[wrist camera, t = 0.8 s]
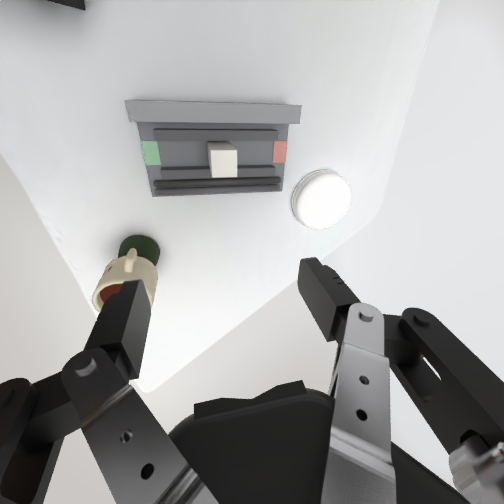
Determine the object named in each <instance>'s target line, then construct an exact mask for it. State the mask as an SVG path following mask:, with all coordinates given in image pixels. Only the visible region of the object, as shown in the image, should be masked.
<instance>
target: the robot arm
mask: <svg viewBox="0 0 504 504" xmlns="http://www.w3.org/2000/svg"><path fill="white" fill-rule="evenodd" d="M298 289H299V292H300V294H301V296H302V297H303V299H304V301H305V303H306V305H307V306H308V308H309V310H310V312H311V313H312V315H313V317H314V319H315V321H316V322H317V324H318V326H319V328H320V330H321V331H322V333H323V335H324V337H325V339H326V340H327V342H330V341H334V340H336V341H337V343H338V348H337V352H336V357H335V363H334V367H333V373H332V378H331V383H330V387H329V391H328V395H327V394H325V393H323V392H320V391H317V390H313V389H309V388H305V386H304V383H303V381H302V380H300V381H295V382H291V383H286V384H282V385H277V386H275V387H274V388H272V389H270V390H268V391H266V392H265V393H263V394H261V395H259V396H257V397H255V398H253V399H236V398H219V399H214V400H210V401H205V402H201V403H196V404H194V414H192V415H190V416H188V417H187V418H185V419H184V420H182V421H181V422H180V423H179V424H178V425H177V426H175V428H174V429H173V430H172V431H171V432H170V433H169V434H168V435H167V434H166V432H165V431H164V430H163V428H162V427H161V425H160V424H159V423H158V421H157V420H156V419H155V417H154V416H153V414H152V413H151V412H150V410H149V409H148V407H147V406H146V405H145V403H144V402H143V400H142V399H141V398H140V396H139V395H138V394H137V392H136V391H135V389H134V388H133V387H132V386H131V385H129V384H128V383H129V380H132V379H137V378H139V373H140V368H141V363H142V358H143V353H144V347H145V342H146V337H147V332H148V327H149V321H150V316H151V305H150V301H149V298H148V295H147V292H146V289H145V286H144V283H143V280H142V279H137V280H130V281H124V282H123V284H122V286H121V289H120V292H119V293H113V294H112V295H111V296H110V297H109V298H108V299H107V300H106V301H105V302H104V304H103V306H102V309H101V311H100V313H99V315H98V318H97V321H96V322H95V325H94V327H93V329H92V332H91V334H90V336H89V338H88V341H87V343H86V345H85V348H84V350H83V351H81V352H80V353H78V354H76V355H75V356H73V357H72V358H71V359H70V360H69V361H68V362H67V363H66V364H65V366H64V367H63V369H62V371H61V372H59V373H56V374H54V375H52V376H49V377H47V378H45V379H42V380H40V381H38V382H36V383H33V384H31V383H30V382H29V381H28V380H27V379H24V378H15V379H11V380H8V381H6V382H3V383H1V384H0V504H43V502H44V498H45V495H46V492H47V489H48V486H49V483H50V480H51V477H52V474H53V471H54V468H55V465H56V461H57V458H58V455H59V452H60V449H61V445H62V443H63V440H64V437H65V436H66V435H68V434H70V433H72V432H74V431H75V430H77V429H79V428H81V430H82V432H83V434H84V436H85V438H86V440H87V443H88V444H89V447H90V449H91V451H92V453H93V455H94V457H95V459H96V461H97V464H98V466H99V468H100V470H101V472H102V474H103V476H104V478H105V480H106V483H107V484H108V487H109V489H110V491H111V493H112V495H113V497H114V499H115V501H116V504H504V382H503V381H502V380H501V379H500V378H498V377H497V376H496V375H495V374H494V373H493V372H492V371H491V370H490V369H489V368H488V367H487V366H486V365H485V364H484V363H483V362H482V361H481V360H480V359H479V358H478V357H477V356H476V355H474V353H472V352H471V351H470V350H469V349H468V348H467V347H466V346H465V345H464V344H463V343H462V342H461V341H460V340H459V339H458V338H457V337H456V336H455V335H454V334H453V333H452V332H450V330H448V328H446V327H445V326H444V325H443V324H442V323H441V322H440V321H439V320H438V319H437V318H436V317H435V316H434V315H432V314H431V313H429V312H427V311H425V310H422V309H419V308H407V309H405V310H404V311H403V313H402V316H397V315H386V314H382V313H381V312H380V311H379V310H378V309H377V308H375V307H374V306H372V305H369V304H366V303H361V302H360V300H359V299H358V298H357V297H356V296H355V294H354V293H353V292H352V291H351V290H350V288H349V287H348V286H347V285H346V284H345V283H344V281H343V280H342V279H341V278H340V276H339V275H338V274H337V273H336V272H335V270H333V269H332V268H330V267H328V266H327V265H322V264H321V263H320V262H319V260H318V259H317V258H316V257H312V258H305V259H301V261H300V266H299V274H298ZM423 357H425V358H426V359H427V360H428V362H429V363H430V364H431V365H432V366H433V368H434V369H435V370H436V371H437V372H438V374H439V376H440V378H441V380H440V379H439V378H438V377H437V375H436V374H435V373H434V371H433V370H432V369H431V368H430V367H429V366H428V364H427V363H426V362H425V361H424V359H423ZM389 367H390V368H391V369H392V371H393V372H394V374H395V375H396V377H397V378H398V380H399V381H400V383H401V384H402V386H403V387H404V389H405V390H406V392H407V393H408V395H409V396H410V398H411V399H412V401H413V402H414V404H415V405H416V407H417V408H418V409H419V411H420V413H421V414H422V415H423V417H424V418H425V420H426V421H427V423H428V424H429V425H430V427H431V429H432V430H433V432H434V433H435V435H436V436H437V438H438V439H439V441H440V442H441V444H442V445H443V447H444V448H445V449H446V451H447V453H448V454H449V455H450V456H449V466H450V470H451V473H452V475H453V483H454V485H455V487H456V488H457V490H458V491H459V492H460V493H461V494H460V493H459V492H458V491H457V490H455V489H454V488H453V487H451V486H450V485H449V484H447V483H446V482H444V481H443V480H442V479H441V478H439V477H438V476H437V475H435V474H434V473H433V472H431V471H430V470H429V469H427V468H426V467H425V466H424V465H422V464H421V463H420V462H418V461H417V460H415V459H414V458H413V457H412V456H410V455H409V454H408V453H406V452H405V451H404V450H402V449H401V448H399V447H398V446H397V445H396V444H394V443H393V442H392V441H391V426H390V372H389V371H390V370H389Z"/></svg>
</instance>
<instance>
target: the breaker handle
mask: <svg viewBox="0 0 504 504" xmlns="http://www.w3.org/2000/svg"><path fill="white" fill-rule="evenodd" d="M207 144H208V159H209V167H210V171H211V175H212V178H217V177H237V150H236V148H235V147H234V146H233V145H232V144H231V143H230V142H229V141H207Z"/></svg>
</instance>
